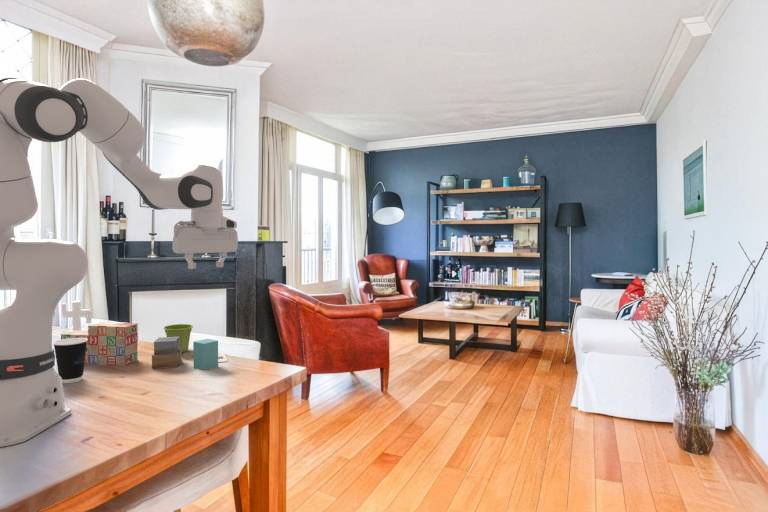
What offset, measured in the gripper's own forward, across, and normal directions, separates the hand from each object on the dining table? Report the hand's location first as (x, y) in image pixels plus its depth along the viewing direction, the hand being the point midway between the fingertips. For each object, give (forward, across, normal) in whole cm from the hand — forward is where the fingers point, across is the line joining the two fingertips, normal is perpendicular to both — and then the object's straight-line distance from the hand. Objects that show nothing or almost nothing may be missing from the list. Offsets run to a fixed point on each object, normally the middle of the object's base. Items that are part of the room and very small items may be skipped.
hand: (206, 267), depth 135 cm
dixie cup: (+31, -28, +19) cm, 46 cm away
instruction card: (+31, +8, +6) cm, 32 cm away
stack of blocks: (+32, -14, +33) cm, 48 cm away
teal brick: (+31, +1, 0) cm, 31 cm away
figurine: (+34, -5, +72) cm, 79 cm away
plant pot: (+32, +7, +24) cm, 41 cm away
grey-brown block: (+31, -5, +12) cm, 34 cm away
